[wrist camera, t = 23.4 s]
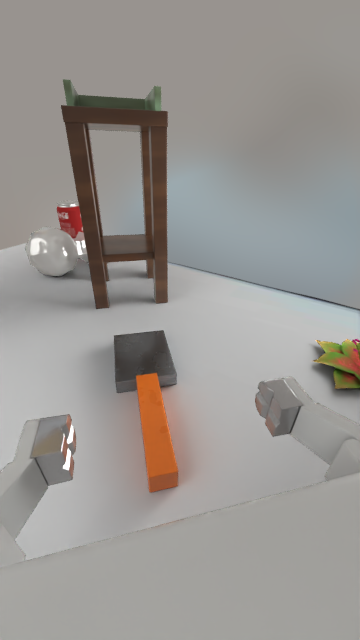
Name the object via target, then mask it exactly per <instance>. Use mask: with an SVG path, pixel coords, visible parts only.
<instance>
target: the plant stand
mask: <svg viewBox="0 0 360 640" xmlns="http://www.w3.org/2000/svg"><path fill="white" fill-rule="evenodd" d="M63 83H64V89H65V95H66V102H67V106H63V105H61V109H62V114H63V120H64V122H65V125H66V132H67V138H68V144H69V150H70V156H71V161H72V167H73V173H74V179H75V184H76V191H77V196H78V203H79V209H80V215H81V221H82V226H83V232H84V238H85V244H86V250H87V256H88V262H89V268H90V274H91V280H92V286H93V291H94V297H95V303H96V309H100V308H109V299H108V292H107V284H106V281H109V276H108V269H107V262H119V261H136V260H146V267H147V276H148V278H154V298H155V302H156V303H166V302H168V295H167V127H168V112H167V111H161V87H156V86H154V88H153V89H152V90H151V92H150V93H149V95H148V96H147V97H146V98H145V99H132V98H117V97H101V96H100V97H99V96H85V95H78V94H77V92H76V90H75V88H74V86H73V84H72V83H71V81H70V80H63ZM89 130H105V131H132V132H140V142H141V162H142V183H143V203H144V225H145V234H140V235H114V236H103V230H102V223H101V215H100V208H99V200H98V193H97V185H96V177H95V169H94V162H93V154H92V147H91V140H90V132H89Z"/></svg>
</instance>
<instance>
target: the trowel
mask: <svg viewBox="0 0 360 640" xmlns="http://www.w3.org/2000/svg"><path fill="white" fill-rule="evenodd" d="M114 354H115V384H116V390H117V393H121V392H128V391H135V390H137V393H138V401H139V409H140V418H141V426H142V434H143V443H144V451H145V459H146V468H147V476H148V484H149V492H155V491H159V490H163V489H168V488H172V487H176V486H178V468H177V463H176V459H175V454H174V450H173V445H172V440H171V436H170V431H169V427H168V422H167V417H166V413H165V408H164V404H163V399H162V394H161V390H160V387H161V386H168V385H174V384H176V375H177V374H176V371H175V367H174V364H173V361H172V357H171V354H170V351H169V348H168V344H167V341H166V338H165V334H164V331H163V330H162V331H153V332H143V333H134V334H125V335H116V336H114Z"/></svg>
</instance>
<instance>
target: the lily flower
mask: <svg viewBox="0 0 360 640" xmlns="http://www.w3.org/2000/svg"><path fill="white" fill-rule="evenodd" d="M316 341H317V342H318V343H319V345H321V347H322V349H323V350H324V351H325V352H326V353H325V354H323V355H322V356H320V357H319V358H318V360H317V359H316V360H314V362H318V363H322V364H326V365H330V366H334V367H336V368H335V369H334V372H333V373H334V382H335V384H336V385H335V389H338V388H360V343H357V342H360V341H359V340H357V339H355V341H357V342H355V341H354V340H353V341H350V340H348V339H346V340H345V341H344V342H343V343H342V346H341V345H339V344H336V343H333V342H325V341H323V342H320V341H318V340H316Z"/></svg>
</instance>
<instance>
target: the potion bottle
mask: <svg viewBox="0 0 360 640" xmlns="http://www.w3.org/2000/svg"><path fill="white" fill-rule="evenodd" d="M25 250H26V253H27V256H28V259H29V262H30V265H32V266H33V267H34V268H36V269H37V270H38V271H40V272H41V273H42V274H44V275H50V276H63V275H64V274H66V273H68V272H70V271H71V270H73V269H74V268H75V266H76V263H77V260H78V259H83V260H84V261H85V262H86V263H89V262H88V256H87V250H86V244H85V238H84V233H83V232H78V234H77V236H76V238H72V237H71V236H70V235H69V234H68V233H67V232H65V231H64V230H63V229H58V228H51V227H44V228H42V229H39V230H37V231H35V232H33V233H31V235H30V237H29V240H28V242H27V245H26V247H25Z"/></svg>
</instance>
